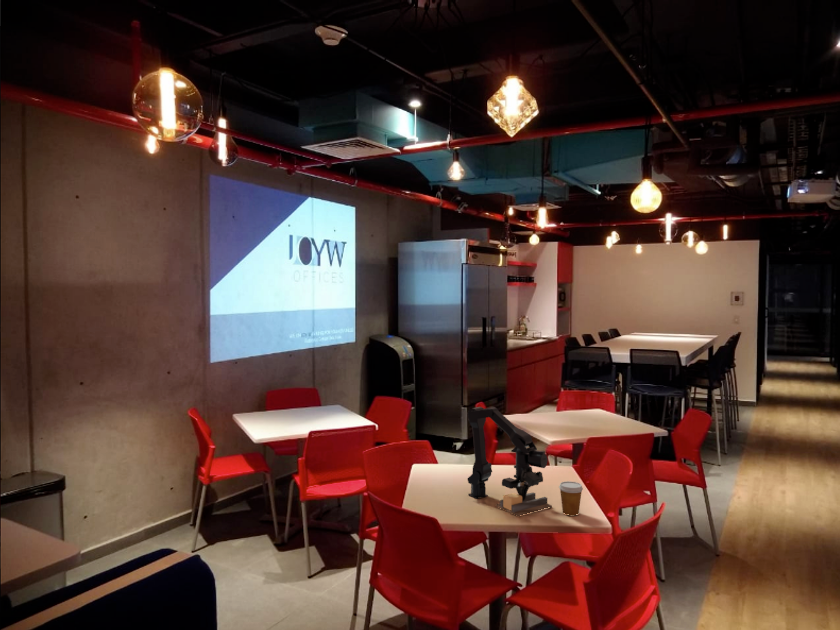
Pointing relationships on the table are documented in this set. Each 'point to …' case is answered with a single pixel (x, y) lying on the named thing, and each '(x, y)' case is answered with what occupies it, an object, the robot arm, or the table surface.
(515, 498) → the block
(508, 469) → the table surface
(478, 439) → the robot arm
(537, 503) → the chute
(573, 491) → the disposable coffee cup
